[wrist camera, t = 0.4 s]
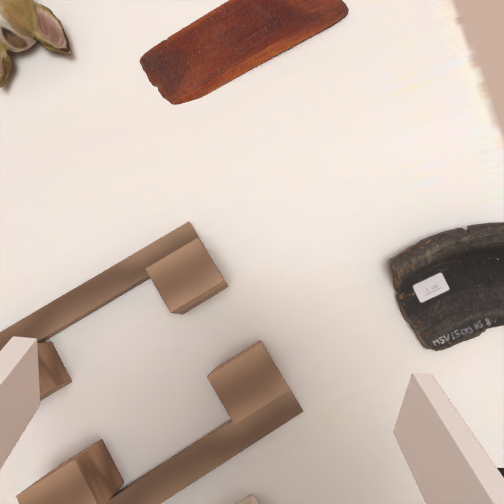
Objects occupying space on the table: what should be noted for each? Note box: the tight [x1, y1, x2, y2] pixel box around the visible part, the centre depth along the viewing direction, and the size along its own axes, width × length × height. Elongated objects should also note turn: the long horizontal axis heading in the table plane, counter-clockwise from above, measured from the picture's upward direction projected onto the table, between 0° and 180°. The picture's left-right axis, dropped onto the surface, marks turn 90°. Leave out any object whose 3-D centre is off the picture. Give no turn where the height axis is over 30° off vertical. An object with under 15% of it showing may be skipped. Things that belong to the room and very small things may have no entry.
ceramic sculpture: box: [0, 0, 71, 87], centre depth 50 cm, size 11×9×15 cm
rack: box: [0, 222, 303, 504], centre depth 44 cm, size 24×26×7 cm
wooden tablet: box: [140, 0, 348, 105], centre depth 54 cm, size 27×10×2 cm, turn 121°
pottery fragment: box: [390, 222, 504, 351], centre depth 47 cm, size 15×12×4 cm
